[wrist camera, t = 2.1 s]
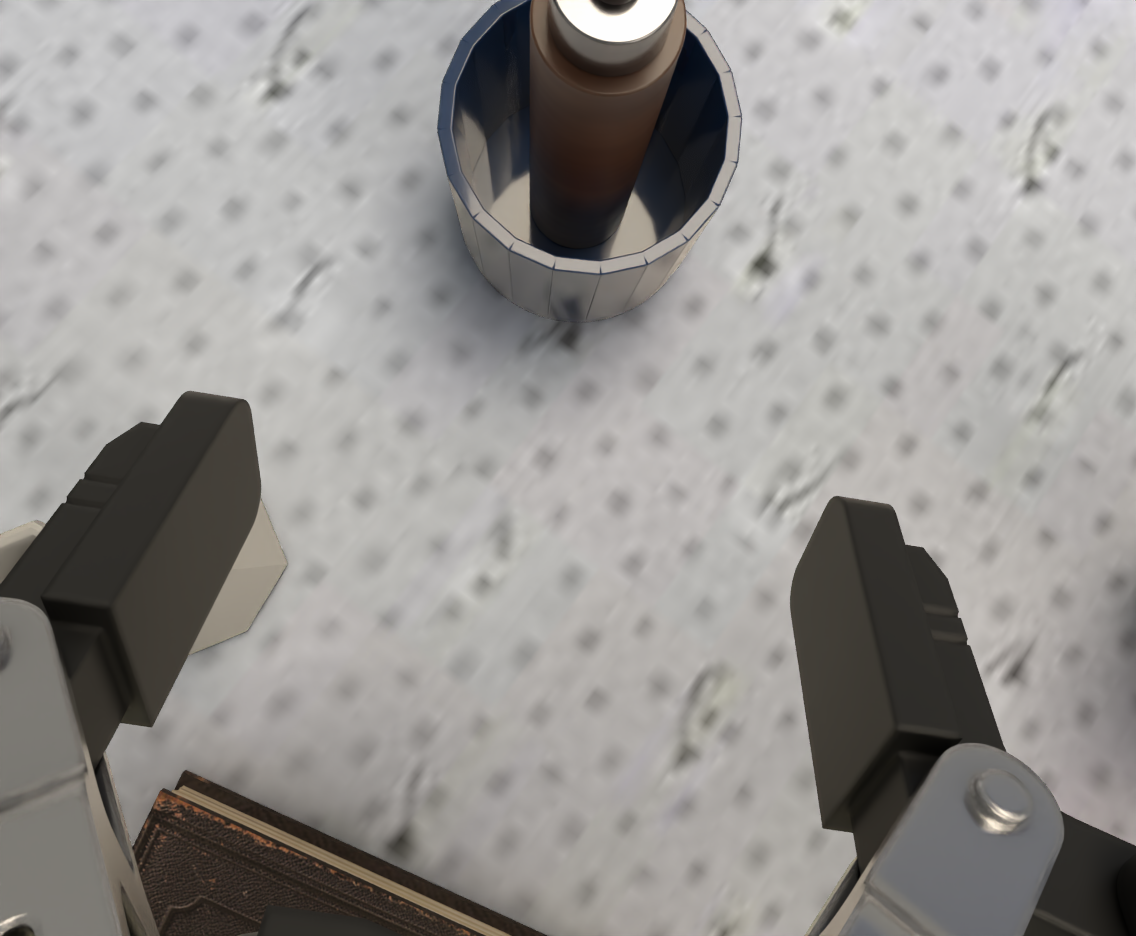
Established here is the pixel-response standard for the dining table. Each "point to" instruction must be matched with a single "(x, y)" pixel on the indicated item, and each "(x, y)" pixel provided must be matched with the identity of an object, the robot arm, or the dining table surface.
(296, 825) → the hardcover book
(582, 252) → the navy blue mug
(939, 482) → the dining table surface
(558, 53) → the pepper mill
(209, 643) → the flask
